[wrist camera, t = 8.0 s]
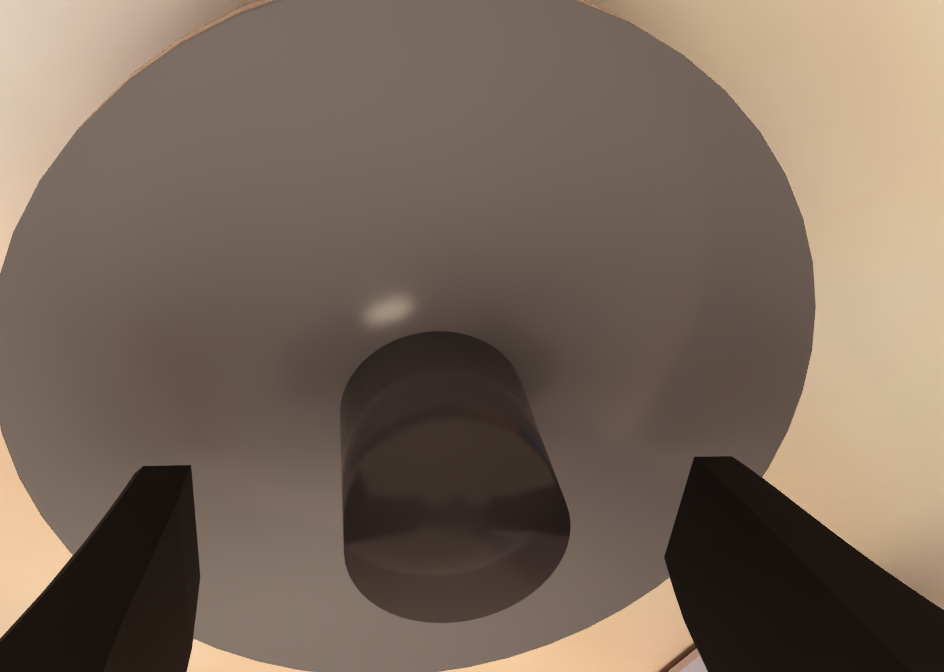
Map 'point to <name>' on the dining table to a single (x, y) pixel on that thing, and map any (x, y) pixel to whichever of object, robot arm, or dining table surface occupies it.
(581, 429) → the lid
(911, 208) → the dining table surface
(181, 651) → the robot arm
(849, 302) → the dining table surface
